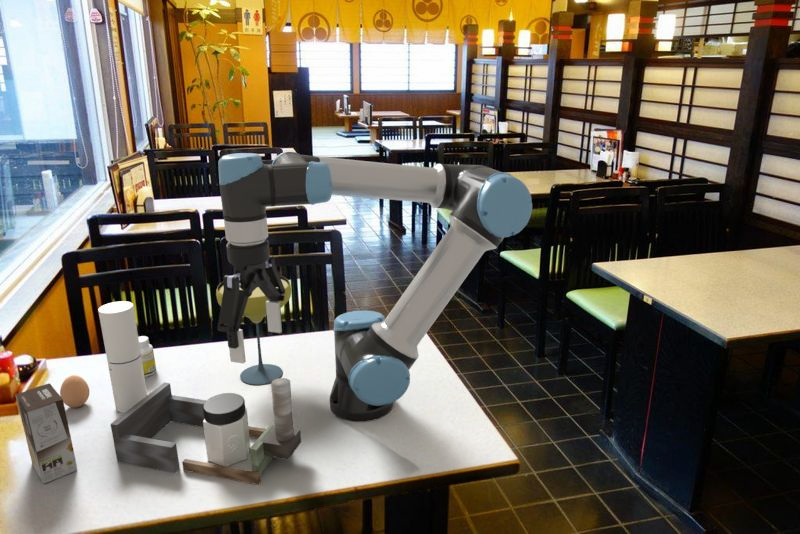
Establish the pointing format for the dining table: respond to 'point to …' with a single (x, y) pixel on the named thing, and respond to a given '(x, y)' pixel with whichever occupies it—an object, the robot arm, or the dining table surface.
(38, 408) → the coffee box
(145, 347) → the supplement bottle
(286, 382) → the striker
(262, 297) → the cocktail glass
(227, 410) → the jar
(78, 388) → the egg
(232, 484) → the dining table surface
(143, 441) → the lane
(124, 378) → the cylindrical container
